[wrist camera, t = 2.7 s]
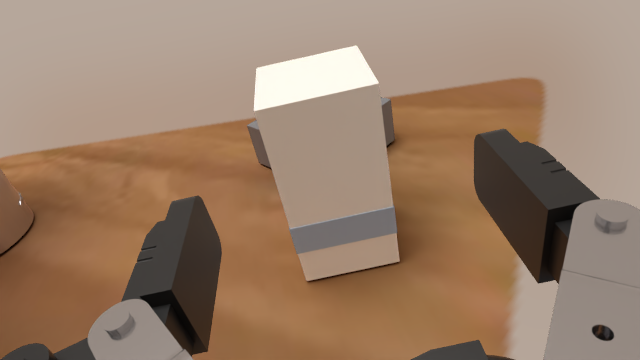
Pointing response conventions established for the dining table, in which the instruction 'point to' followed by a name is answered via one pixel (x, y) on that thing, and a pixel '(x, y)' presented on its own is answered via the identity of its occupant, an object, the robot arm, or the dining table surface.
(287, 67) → the milk carton
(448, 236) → the dining table surface
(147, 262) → the robot arm
